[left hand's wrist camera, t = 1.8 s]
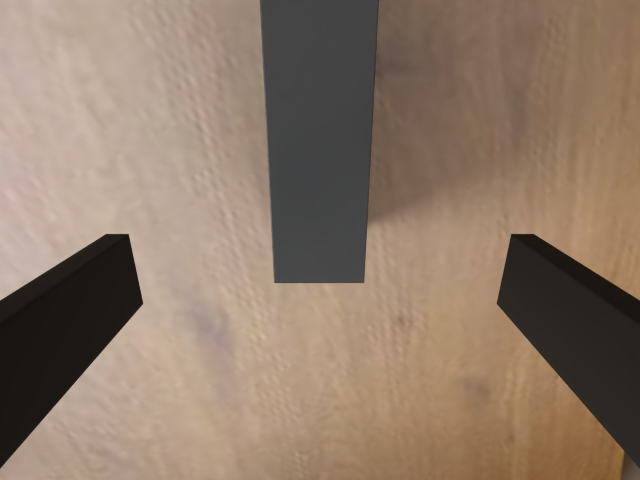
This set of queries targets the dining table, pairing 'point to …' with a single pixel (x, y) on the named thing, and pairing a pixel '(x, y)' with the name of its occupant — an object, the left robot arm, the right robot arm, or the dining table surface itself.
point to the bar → (319, 134)
